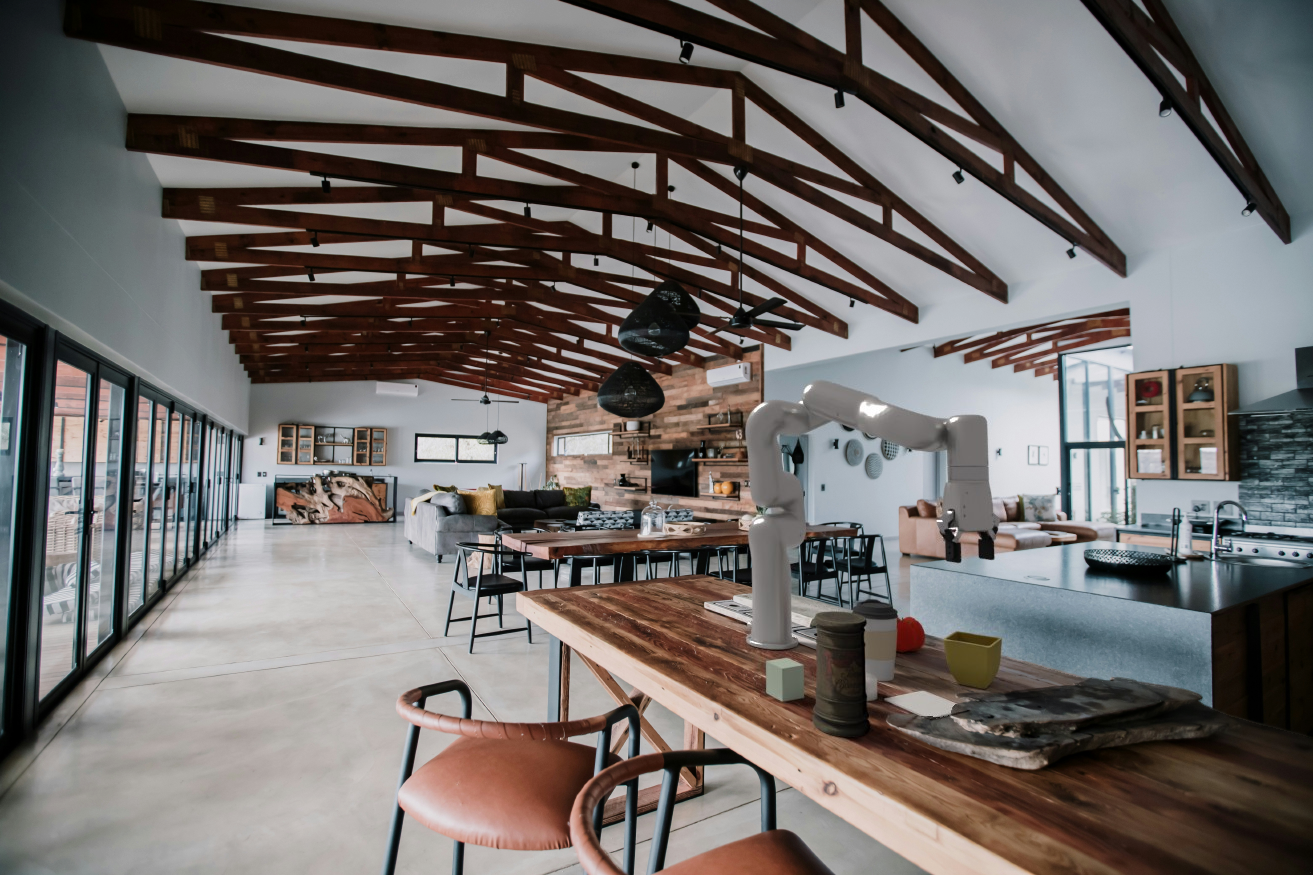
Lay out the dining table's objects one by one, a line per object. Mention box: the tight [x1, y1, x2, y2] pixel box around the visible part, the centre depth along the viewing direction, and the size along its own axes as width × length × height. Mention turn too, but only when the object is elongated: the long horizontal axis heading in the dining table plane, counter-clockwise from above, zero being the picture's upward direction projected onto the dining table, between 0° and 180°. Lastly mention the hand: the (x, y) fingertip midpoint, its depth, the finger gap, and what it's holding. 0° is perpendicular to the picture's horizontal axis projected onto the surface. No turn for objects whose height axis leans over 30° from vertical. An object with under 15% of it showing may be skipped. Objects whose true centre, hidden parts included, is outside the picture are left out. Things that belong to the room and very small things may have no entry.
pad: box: [884, 690, 957, 718], centre depth 110 cm, size 10×10×1 cm
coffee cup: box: [851, 598, 899, 682], centre depth 127 cm, size 9×9×15 cm
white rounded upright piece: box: [866, 673, 878, 702], centre depth 115 cm, size 6×6×4 cm
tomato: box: [896, 616, 926, 653], centre depth 145 cm, size 9×9×8 cm
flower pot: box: [942, 630, 1003, 690], centre depth 122 cm, size 9×9×9 cm
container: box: [812, 611, 871, 738], centre depth 101 cm, size 9×9×18 cm
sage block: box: [765, 657, 805, 703], centre depth 115 cm, size 5×5×6 cm
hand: (970, 560), depth 123 cm, fingers open, 9 cm apart
